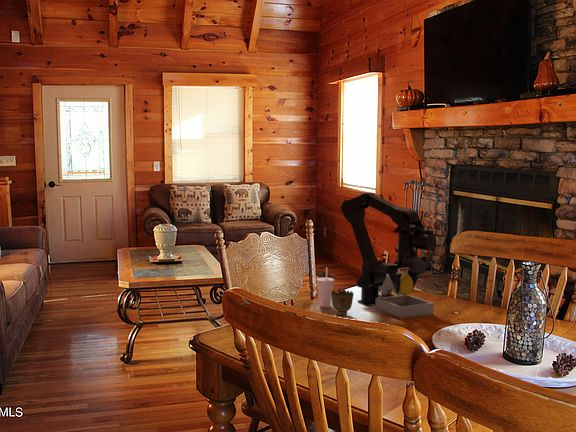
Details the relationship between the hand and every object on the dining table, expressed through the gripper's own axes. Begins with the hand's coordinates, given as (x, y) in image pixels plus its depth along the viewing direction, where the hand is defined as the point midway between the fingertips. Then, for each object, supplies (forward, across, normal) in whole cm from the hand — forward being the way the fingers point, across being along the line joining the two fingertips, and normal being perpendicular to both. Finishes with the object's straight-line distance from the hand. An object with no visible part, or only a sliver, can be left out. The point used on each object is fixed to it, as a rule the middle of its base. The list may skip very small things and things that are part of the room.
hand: (404, 291), depth 211 cm
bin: (+7, 0, 0) cm, 7 cm away
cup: (+7, -22, +5) cm, 24 cm away
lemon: (+2, 0, 0) cm, 2 cm away
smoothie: (+7, -21, +18) cm, 28 cm away
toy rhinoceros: (+8, +10, +21) cm, 25 cm away
